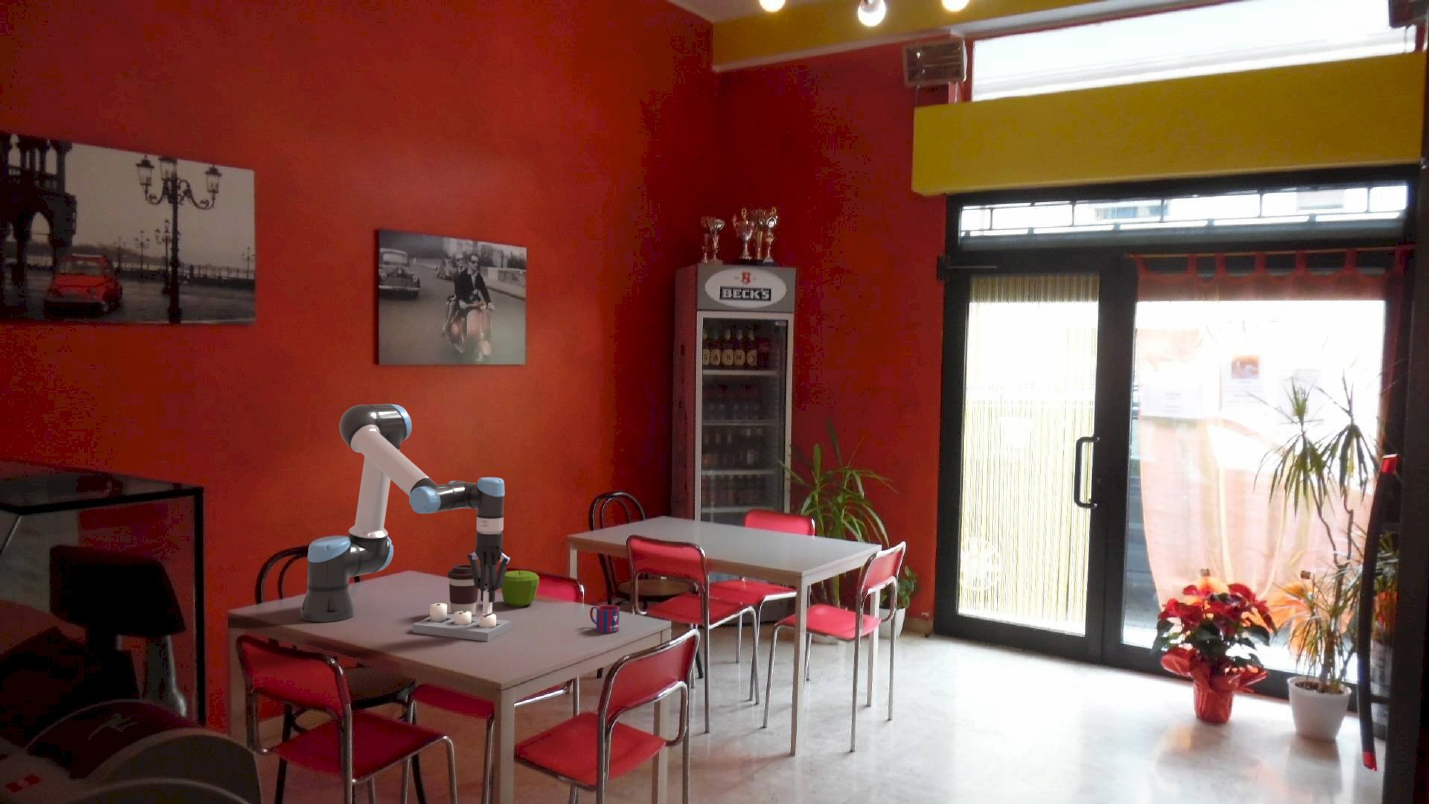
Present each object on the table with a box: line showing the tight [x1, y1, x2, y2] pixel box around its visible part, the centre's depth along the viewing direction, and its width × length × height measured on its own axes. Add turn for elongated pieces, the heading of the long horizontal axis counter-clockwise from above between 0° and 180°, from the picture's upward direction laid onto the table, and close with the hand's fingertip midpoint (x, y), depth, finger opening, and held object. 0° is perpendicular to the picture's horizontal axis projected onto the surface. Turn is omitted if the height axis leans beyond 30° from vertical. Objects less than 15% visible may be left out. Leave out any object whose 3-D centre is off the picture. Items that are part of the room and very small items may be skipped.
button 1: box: [429, 602, 448, 622], centre depth 286 cm, size 5×5×5 cm
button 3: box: [478, 612, 497, 629], centre depth 282 cm, size 5×5×5 cm
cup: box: [589, 604, 620, 634], centre depth 290 cm, size 7×10×7 cm
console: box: [412, 613, 512, 642], centre depth 284 cm, size 24×14×2 cm, turn 74°
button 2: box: [454, 611, 471, 626], centre depth 284 cm, size 5×5×5 cm
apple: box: [500, 569, 540, 608], centre depth 317 cm, size 12×12×11 cm
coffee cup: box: [447, 564, 481, 617], centre depth 301 cm, size 10×10×15 cm
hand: (487, 612), depth 282 cm, fingers closed
